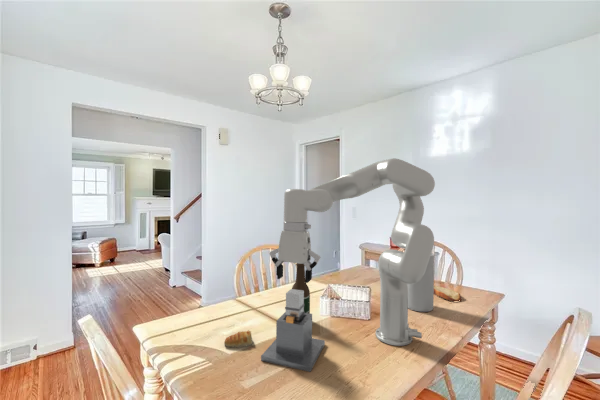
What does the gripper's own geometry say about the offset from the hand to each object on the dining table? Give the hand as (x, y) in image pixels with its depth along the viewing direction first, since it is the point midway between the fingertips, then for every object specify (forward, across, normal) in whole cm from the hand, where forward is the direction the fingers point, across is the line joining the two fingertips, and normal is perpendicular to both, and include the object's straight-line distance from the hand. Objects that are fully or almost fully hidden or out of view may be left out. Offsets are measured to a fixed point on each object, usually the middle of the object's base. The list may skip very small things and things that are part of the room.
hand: (293, 279), depth 92 cm
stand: (+24, -1, 0) cm, 24 cm away
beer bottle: (+24, +5, -23) cm, 33 cm away
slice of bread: (+23, -54, -80) cm, 99 cm away
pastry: (+24, +19, +1) cm, 31 cm away
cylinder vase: (+23, -41, -56) cm, 73 cm away
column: (+22, -1, 0) cm, 22 cm away
